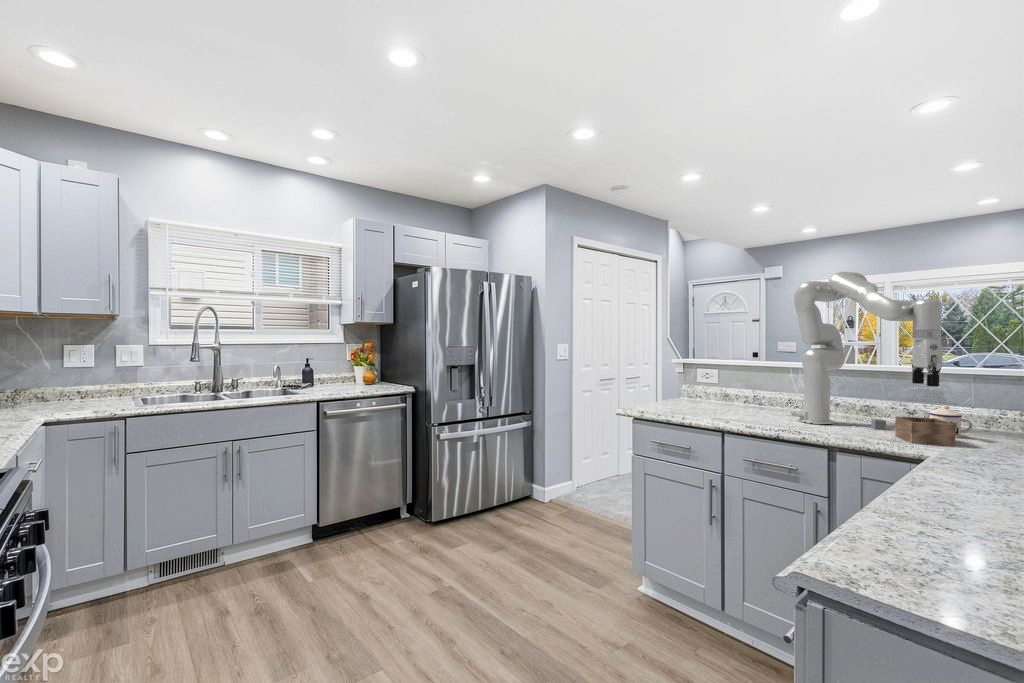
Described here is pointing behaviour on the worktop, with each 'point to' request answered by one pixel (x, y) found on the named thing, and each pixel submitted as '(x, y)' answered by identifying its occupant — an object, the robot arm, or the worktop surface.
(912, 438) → the box
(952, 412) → the teacup with lid
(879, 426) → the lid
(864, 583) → the worktop surface
